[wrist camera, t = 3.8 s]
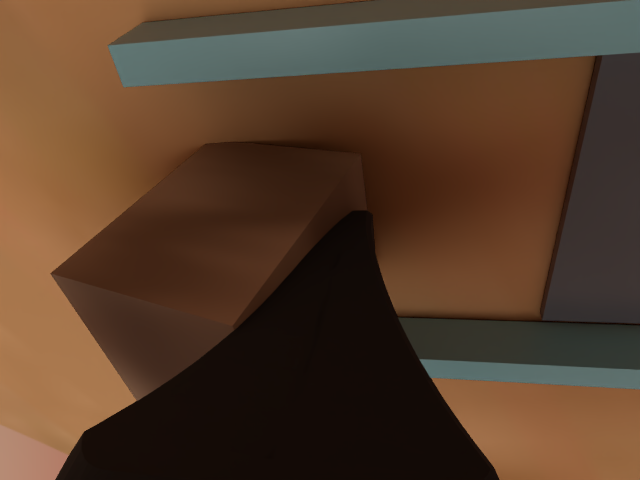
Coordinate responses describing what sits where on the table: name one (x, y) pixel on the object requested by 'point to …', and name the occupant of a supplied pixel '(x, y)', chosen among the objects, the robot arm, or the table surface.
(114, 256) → the walnut block
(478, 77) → the table surface
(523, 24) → the channel
